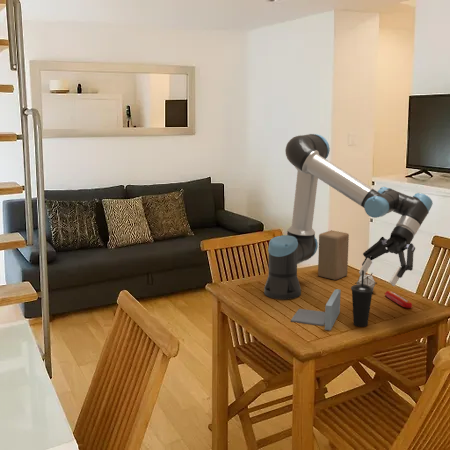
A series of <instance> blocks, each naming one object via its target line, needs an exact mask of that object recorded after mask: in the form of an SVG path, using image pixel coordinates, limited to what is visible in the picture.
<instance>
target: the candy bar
mask: <svg viewBox="0 0 450 450" xmlns="http://www.w3.org/2000/svg"><path fill="white" fill-rule="evenodd" d="M384 296H385V297H387V298H388V299H390V300H391V301H392V302H394V303H395V304H397V305H399V306H401V307H403V308H406V309H411V308H412V309H413V304H412V302H411V301H409V300H408V299H406V298H404V297H403V296H401V295H399V294H398V293H396V292H394V291H391V290H386V292H385V293H384Z"/></svg>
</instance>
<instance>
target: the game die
mask: <svg viewBox="0 0 450 450" xmlns="http://www.w3.org/2000/svg"><path fill="white" fill-rule="evenodd" d="M358 274H359V277H358V279H357V282H354V285H357V284H361V283H362V276H361V275H360V273H359V272H358ZM363 284H366V285H369V286H371V287H373V289H374V288H375V285H377V284H378V282H376V280H375V279H374V277H373V272H371V274H365V275H364V283H363ZM373 294H374V291H372V295H373Z"/></svg>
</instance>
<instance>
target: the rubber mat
mask: <svg viewBox="0 0 450 450" xmlns="http://www.w3.org/2000/svg"><path fill="white" fill-rule="evenodd" d="M290 322H291V323H292V322H293V323H298V324H304V325H312V326H321V327H325V311H320V310H313V309H306V308H298V310H297V311H296V312H295V313H294V315H293V316H292V318H291V319H290Z"/></svg>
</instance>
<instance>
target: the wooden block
mask: <svg viewBox="0 0 450 450" xmlns="http://www.w3.org/2000/svg"><path fill="white" fill-rule="evenodd" d="M349 236H350V235H349V233H347V232H343V231H338V230H337V231H336V230H332V229H331V230H327V231H325V232H321V233H319V235H318V260H317V261H318V263H317V264H318V267H317V269H318V270H317V276H318V277H321V278H326V279H330V280H332V281H333V280H334V281H337V280H339V279H342V278H344V277H347V276H348V268H349V267H348V264H349V263H348V262H349V240H350V239H349V238H350V237H349Z"/></svg>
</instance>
